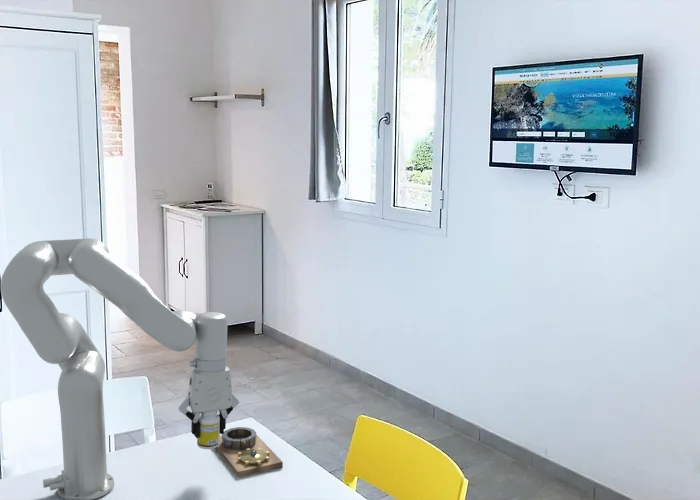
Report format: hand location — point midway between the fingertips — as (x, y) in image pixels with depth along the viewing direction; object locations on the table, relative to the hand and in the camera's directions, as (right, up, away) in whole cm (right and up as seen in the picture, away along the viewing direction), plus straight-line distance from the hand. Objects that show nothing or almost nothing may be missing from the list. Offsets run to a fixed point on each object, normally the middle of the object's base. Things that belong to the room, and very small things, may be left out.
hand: (208, 433), depth 175 cm
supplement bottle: (0, -3, +1) cm, 3 cm away
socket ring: (+5, -7, +17) cm, 19 cm away
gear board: (+7, -9, +13) cm, 18 cm away
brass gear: (+10, -9, +8) cm, 15 cm away
